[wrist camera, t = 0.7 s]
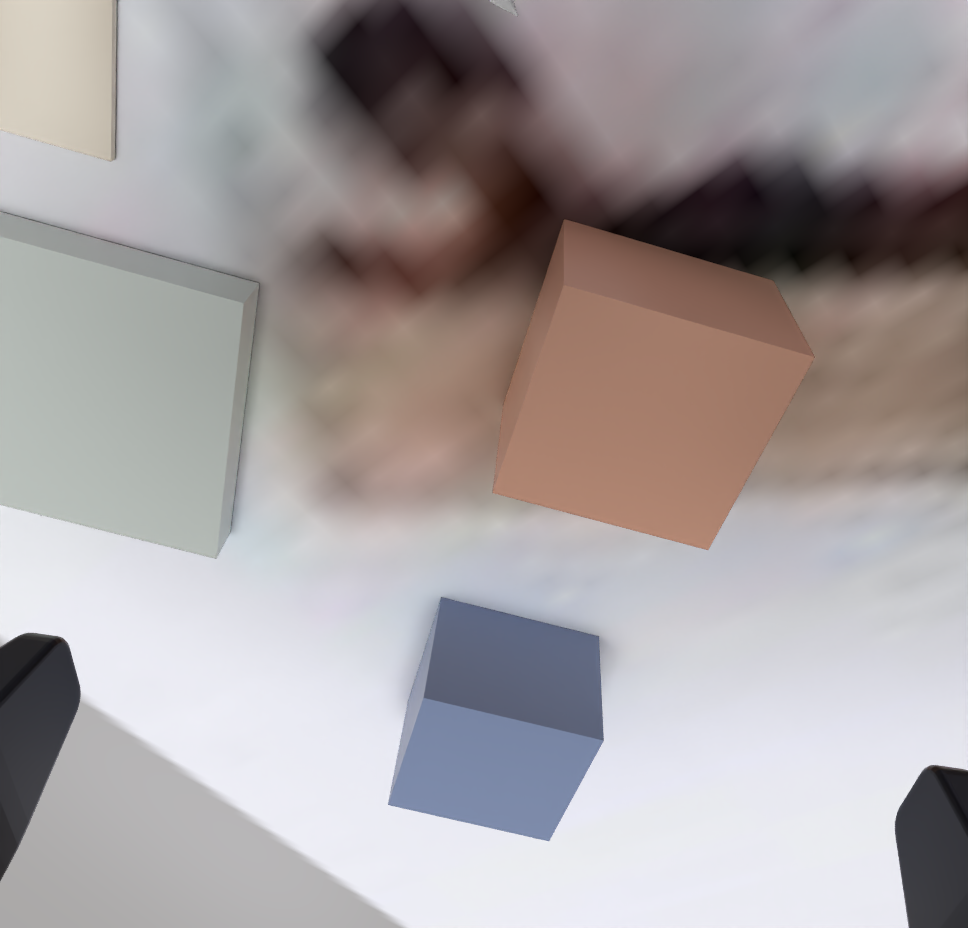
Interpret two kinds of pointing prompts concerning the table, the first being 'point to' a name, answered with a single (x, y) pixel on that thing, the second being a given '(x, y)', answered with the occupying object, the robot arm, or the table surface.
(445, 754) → the navy brick
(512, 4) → the robot toy
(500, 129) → the table surface
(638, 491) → the terracotta brick
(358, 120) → the table surface
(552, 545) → the table surface
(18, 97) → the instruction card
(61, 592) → the table surface
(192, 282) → the grey baseplate
